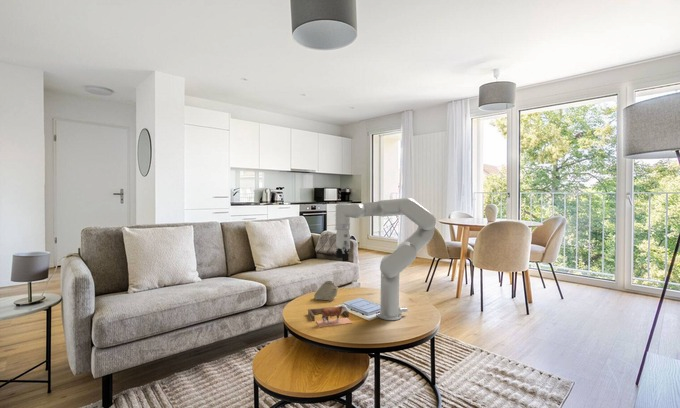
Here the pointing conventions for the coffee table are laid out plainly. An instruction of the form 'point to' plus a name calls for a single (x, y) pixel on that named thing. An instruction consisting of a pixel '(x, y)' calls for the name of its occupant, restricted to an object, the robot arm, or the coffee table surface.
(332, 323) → the mat
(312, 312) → the stall
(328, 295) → the fossil tooth
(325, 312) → the bull figurine
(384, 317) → the robot arm
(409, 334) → the coffee table surface
